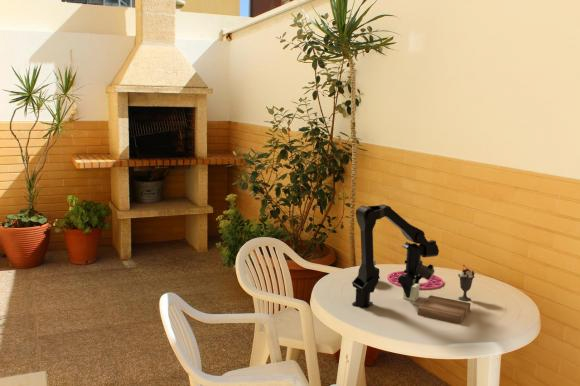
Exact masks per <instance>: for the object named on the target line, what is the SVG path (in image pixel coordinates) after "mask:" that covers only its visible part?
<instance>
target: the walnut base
mask: <svg viewBox="0 0 580 386" xmlns="http://www.w3.org/2000/svg"><path fill="white" fill-rule="evenodd" d="M471 304H472V303H470V302H468V301H462V300H457V299H456V300H455V299H451V298H446V297H442V296H441V297H440V296H436V295H431V294H430V295H429V296H428V297H427V298H426V299H425V300H424V301H422V303H421V304H420V305H419V306H418V307H417V315H419V316H423V317H428V318H432V319H437V320H440V321H444V322H445V321H446V322H450V323H453V324H454V323H455V324H458V325H460V324H461V323H462V322H463V320H464V319H466V317H467V315H468V314H469V312H471Z"/></svg>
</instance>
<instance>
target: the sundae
mask: <svg viewBox="0 0 580 386" xmlns="http://www.w3.org/2000/svg"><path fill="white" fill-rule="evenodd" d="M462 266H463V267H465V268H463V269H462V270H461V272H460V273H458V274H457V276H458V278H459V285H460V289H461V290H462V291H463V295H462V296H459V297H458V299H459V301H462V302H470V301H471V298H470V297H468V296H467V292H469V290H470V289H471V288H472V285H473V280H474V279H475V278H476V276H475V271H474V270H470V269H469V268H467V267H466V265H465V264H463V265H462Z"/></svg>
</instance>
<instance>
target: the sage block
mask: <svg viewBox="0 0 580 386" xmlns="http://www.w3.org/2000/svg"><path fill="white" fill-rule="evenodd" d="M419 286H420V284H416V283H415V284H414V285H413V286H412V288H411V293H410V297H409V298H407V297H406V295H405V292H404V291H403V294H402V295H403V296H402V298H403V300H406V301H409V302H416V301H417V300H418V299H419V298H420V290H419Z"/></svg>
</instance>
